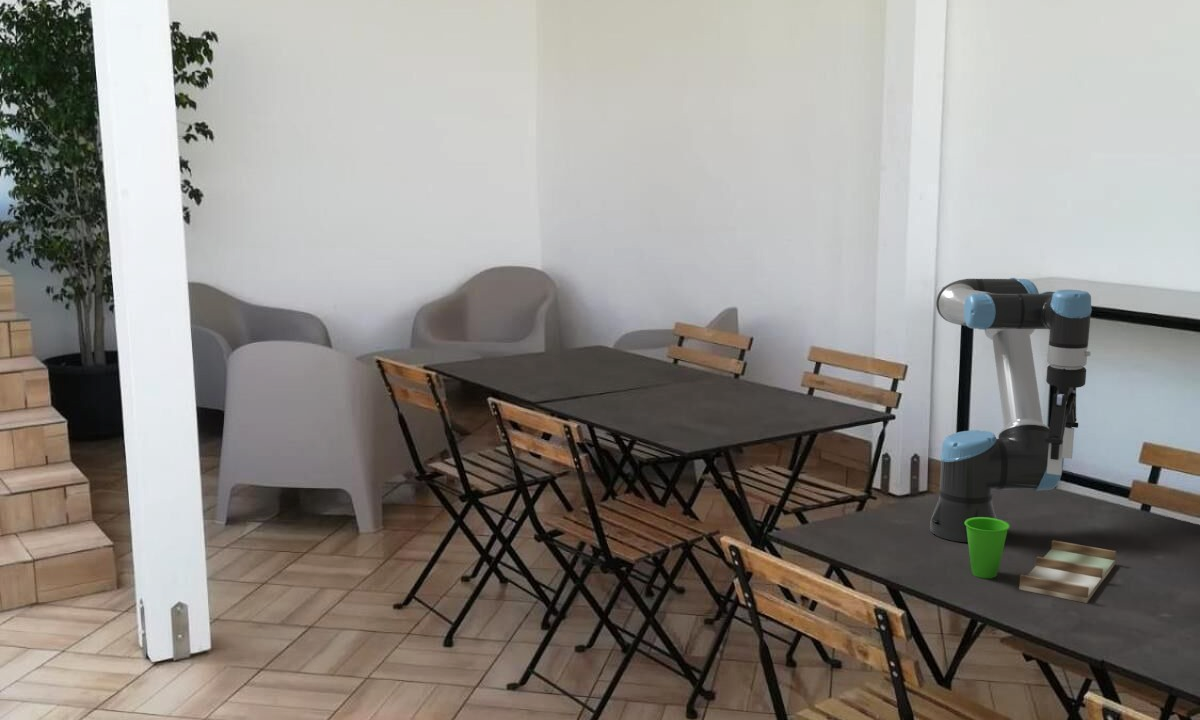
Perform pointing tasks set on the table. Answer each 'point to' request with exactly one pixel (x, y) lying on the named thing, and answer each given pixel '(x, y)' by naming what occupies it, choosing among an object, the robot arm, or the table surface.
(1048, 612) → the table surface
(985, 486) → the robot arm
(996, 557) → the cup
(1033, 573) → the wooden divided tray
